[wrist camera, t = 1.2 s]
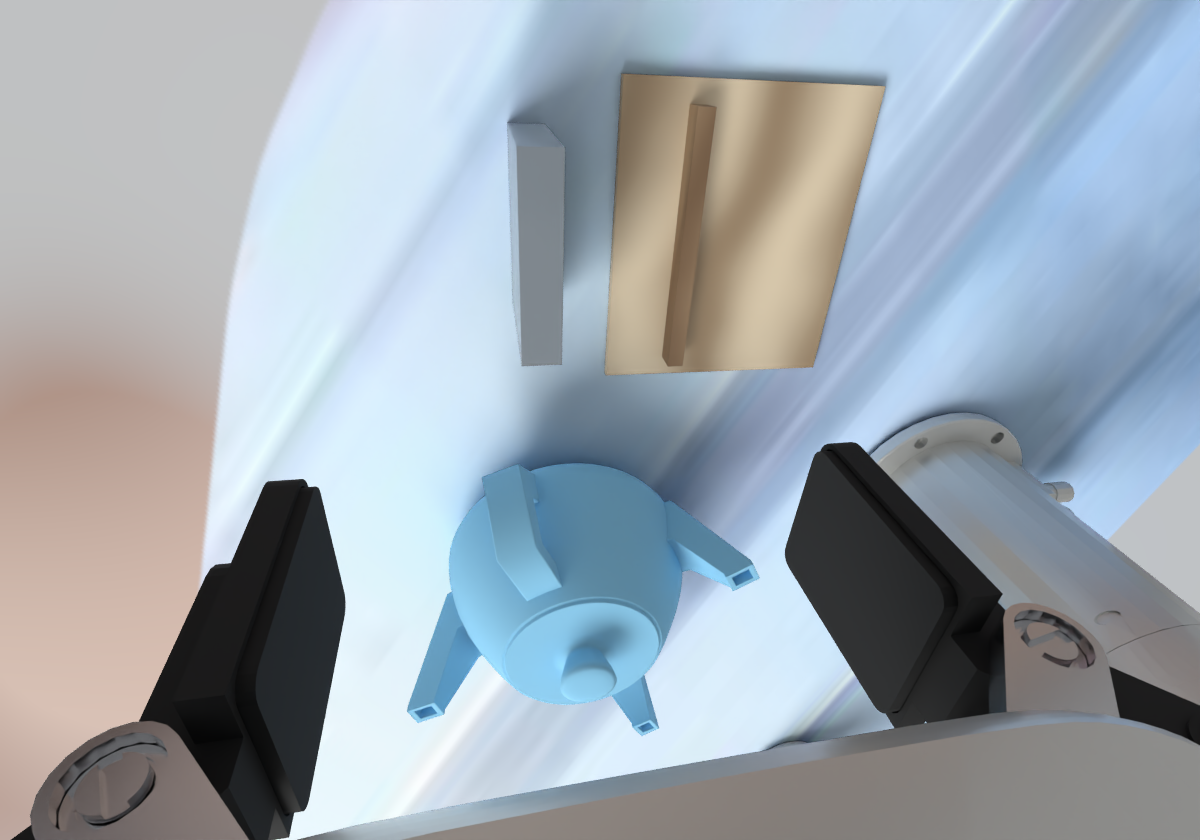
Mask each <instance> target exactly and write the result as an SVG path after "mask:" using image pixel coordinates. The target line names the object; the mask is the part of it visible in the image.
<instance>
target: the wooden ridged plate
mask: <svg viewBox="0 0 1200 840" xmlns="http://www.w3.org/2000/svg"><path fill="white" fill-rule="evenodd" d="M885 87H886V86H871V85H850V84H829V83H808V82H788V81H767V80H746V79H725V78H705V77H684V76H663V75H642V74H621V87H620V105H619V123H618V141H617V158H616V176H615V194H614V212H613V230H612V247H611V265H610V283H609V301H608V318H607V336H606V354H605V375H628V374H654V373H679V372H704V371H730V370H755V369H781V368H806V367H813V365H814V361H815V357H816V353H817V350H818V346H819V342H820V338H821V334H822V330H823V326H824V322H825V319H826V315H827V311H828V307H829V303H830V299H831V295H832V292H833V288H834V284H835V280H836V276H837V272H838V268H839V264H840V261H841V257H842V253H843V249H844V245H845V241H846V237H847V234H848V230H849V226H850V222H851V218H852V214H853V210H854V206H855V203H856V199H857V195H858V191H859V187H860V183H861V179H862V176H863V172H864V168H865V164H866V160H867V156H868V152H869V148H870V145H871V141H872V137H873V133H874V129H875V125H876V121H877V118H878V114H879V110H880V106H881V102H882V98H883V94H884V90H885Z"/></svg>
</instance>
